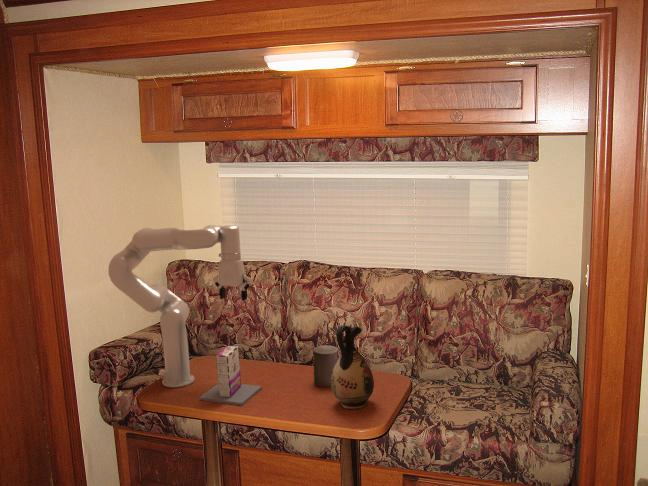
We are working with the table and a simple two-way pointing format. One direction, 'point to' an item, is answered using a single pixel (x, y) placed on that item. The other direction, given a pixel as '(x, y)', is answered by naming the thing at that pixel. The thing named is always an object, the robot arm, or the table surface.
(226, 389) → the candy bar box
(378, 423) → the table surface
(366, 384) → the ceramic jug
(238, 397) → the rubber mat
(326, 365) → the pillar candle
